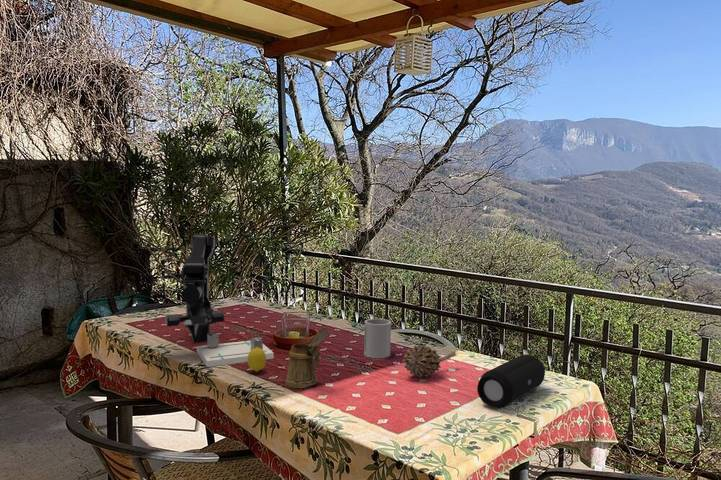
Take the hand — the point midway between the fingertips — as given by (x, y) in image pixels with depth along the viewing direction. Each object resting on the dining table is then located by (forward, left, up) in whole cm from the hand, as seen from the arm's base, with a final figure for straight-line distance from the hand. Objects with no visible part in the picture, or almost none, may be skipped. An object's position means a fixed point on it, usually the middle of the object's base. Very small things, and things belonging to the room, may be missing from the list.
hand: (195, 342), depth 181 cm
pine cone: (+50, +63, -4) cm, 81 cm away
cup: (+26, +57, -4) cm, 63 cm away
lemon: (+26, +14, -4) cm, 30 cm away
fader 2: (+12, +18, -2) cm, 22 cm away
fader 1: (0, +6, -2) cm, 6 cm away
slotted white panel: (+6, +12, -4) cm, 14 cm away
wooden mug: (+43, +24, -4) cm, 50 cm away
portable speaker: (+75, +73, -4) cm, 105 cm away
